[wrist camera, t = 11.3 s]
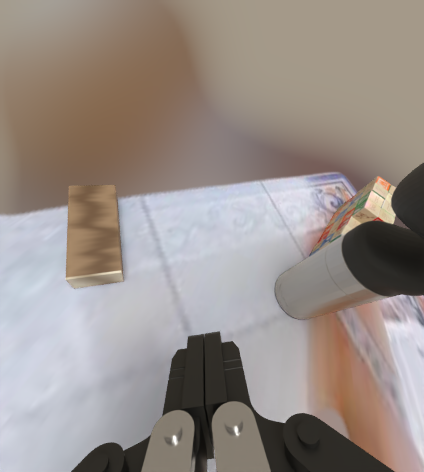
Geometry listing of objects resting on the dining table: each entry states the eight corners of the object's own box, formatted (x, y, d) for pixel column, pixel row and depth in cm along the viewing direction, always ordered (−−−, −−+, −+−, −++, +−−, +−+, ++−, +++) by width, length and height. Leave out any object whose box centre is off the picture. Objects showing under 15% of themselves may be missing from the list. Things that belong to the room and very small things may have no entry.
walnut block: (123, 281, 37) (117, 200, 44) (121, 272, 33) (115, 185, 40) (74, 288, 35) (75, 202, 42) (65, 279, 31) (68, 185, 38)
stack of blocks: (328, 283, 47) (381, 261, 37) (303, 263, 48) (348, 235, 38) (358, 223, 58) (405, 192, 48) (337, 207, 59) (379, 174, 49)
